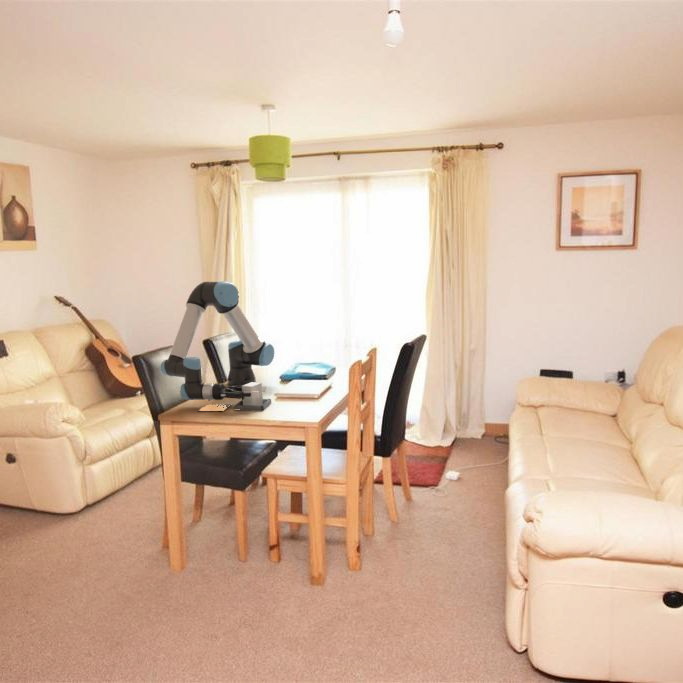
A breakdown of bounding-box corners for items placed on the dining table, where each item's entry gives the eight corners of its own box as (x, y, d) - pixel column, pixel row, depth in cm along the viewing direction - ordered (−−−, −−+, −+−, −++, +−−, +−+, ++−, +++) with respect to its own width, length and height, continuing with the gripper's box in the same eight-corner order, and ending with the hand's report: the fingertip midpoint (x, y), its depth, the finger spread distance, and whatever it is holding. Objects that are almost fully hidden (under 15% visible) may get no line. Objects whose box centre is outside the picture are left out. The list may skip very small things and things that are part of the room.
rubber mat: (207, 404, 267) (207, 403, 267) (232, 404, 265) (232, 403, 265) (197, 411, 256) (197, 410, 256) (222, 412, 254) (222, 410, 254)
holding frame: (243, 403, 268) (243, 398, 267) (271, 403, 266) (271, 399, 265) (234, 410, 256) (234, 406, 255) (263, 410, 253) (263, 406, 253)
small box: (253, 404, 265) (252, 381, 264) (263, 405, 263) (262, 382, 261) (242, 408, 258) (241, 385, 257) (252, 409, 256) (251, 386, 254)
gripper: (223, 393, 274) (269, 393, 270) (205, 405, 252) (254, 406, 249) (222, 378, 272) (268, 378, 269) (204, 389, 251) (253, 389, 248)
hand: (261, 391), depth 259 cm, fingers closed on small box, 9 cm apart
